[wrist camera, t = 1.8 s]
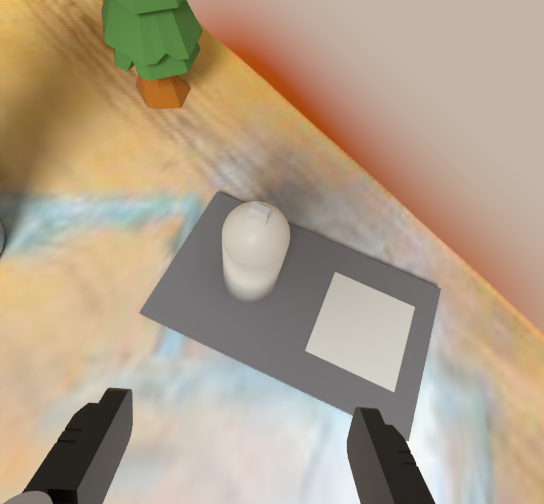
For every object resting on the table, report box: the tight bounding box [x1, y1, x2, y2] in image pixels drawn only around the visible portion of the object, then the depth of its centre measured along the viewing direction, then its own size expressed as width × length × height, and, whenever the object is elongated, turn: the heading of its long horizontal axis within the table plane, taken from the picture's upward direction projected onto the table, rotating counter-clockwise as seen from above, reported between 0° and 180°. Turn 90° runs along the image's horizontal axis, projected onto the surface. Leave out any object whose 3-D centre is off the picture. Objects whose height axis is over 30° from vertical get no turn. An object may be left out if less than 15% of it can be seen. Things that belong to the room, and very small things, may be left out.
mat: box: [139, 192, 441, 441], centre depth 31 cm, size 24×14×1 cm, turn 66°
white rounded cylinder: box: [222, 201, 290, 302], centre depth 26 cm, size 5×5×12 cm
